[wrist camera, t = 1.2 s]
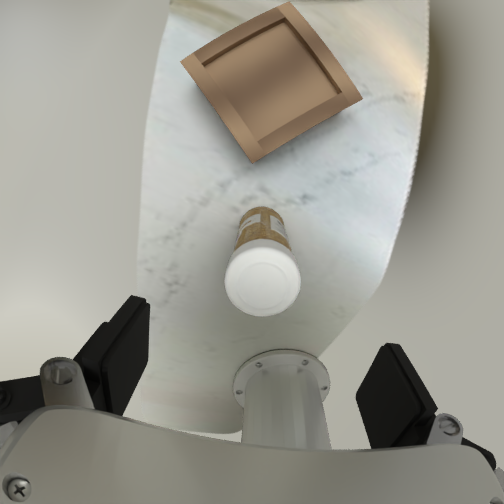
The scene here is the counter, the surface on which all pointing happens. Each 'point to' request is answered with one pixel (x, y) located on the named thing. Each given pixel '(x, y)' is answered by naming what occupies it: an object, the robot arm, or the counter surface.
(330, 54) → the wooden box
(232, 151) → the counter surface
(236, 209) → the counter surface
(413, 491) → the robot arm
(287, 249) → the sprinkles bottle
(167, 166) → the counter surface
